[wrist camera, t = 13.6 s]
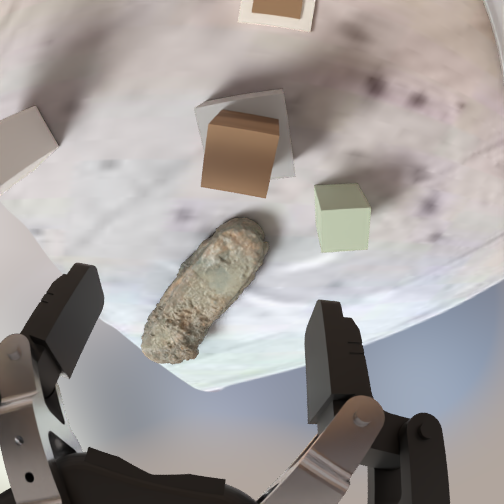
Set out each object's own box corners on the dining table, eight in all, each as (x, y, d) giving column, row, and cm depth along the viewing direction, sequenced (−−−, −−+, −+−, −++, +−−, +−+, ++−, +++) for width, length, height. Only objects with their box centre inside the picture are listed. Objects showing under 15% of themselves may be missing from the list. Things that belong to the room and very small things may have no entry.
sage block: (314, 185, 33) (321, 210, 28) (357, 183, 33) (371, 207, 28) (315, 223, 36) (321, 252, 31) (355, 220, 36) (367, 249, 31)
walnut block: (222, 109, 24) (208, 123, 20) (278, 119, 25) (279, 136, 20) (214, 160, 27) (200, 186, 23) (267, 169, 28) (265, 198, 23)
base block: (205, 101, 29) (193, 108, 25) (282, 88, 27) (284, 93, 23) (221, 169, 33) (212, 187, 29) (292, 159, 32) (295, 176, 28)
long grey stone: (289, 234, 39) (223, 193, 37) (290, 257, 35) (215, 210, 32) (179, 363, 56) (134, 340, 54) (173, 384, 52) (125, 360, 49)
